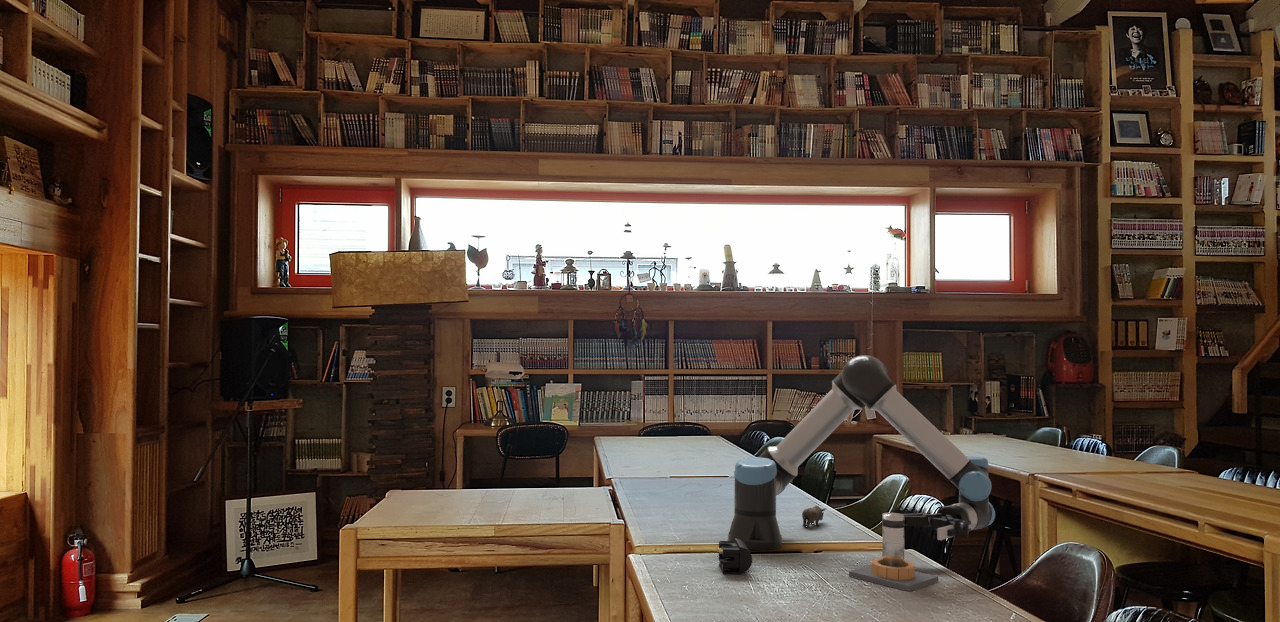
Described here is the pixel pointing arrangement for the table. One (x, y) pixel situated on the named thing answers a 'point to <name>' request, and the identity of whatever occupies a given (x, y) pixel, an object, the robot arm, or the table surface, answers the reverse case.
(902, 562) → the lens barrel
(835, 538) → the table surface
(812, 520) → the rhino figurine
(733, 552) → the end cap
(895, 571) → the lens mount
